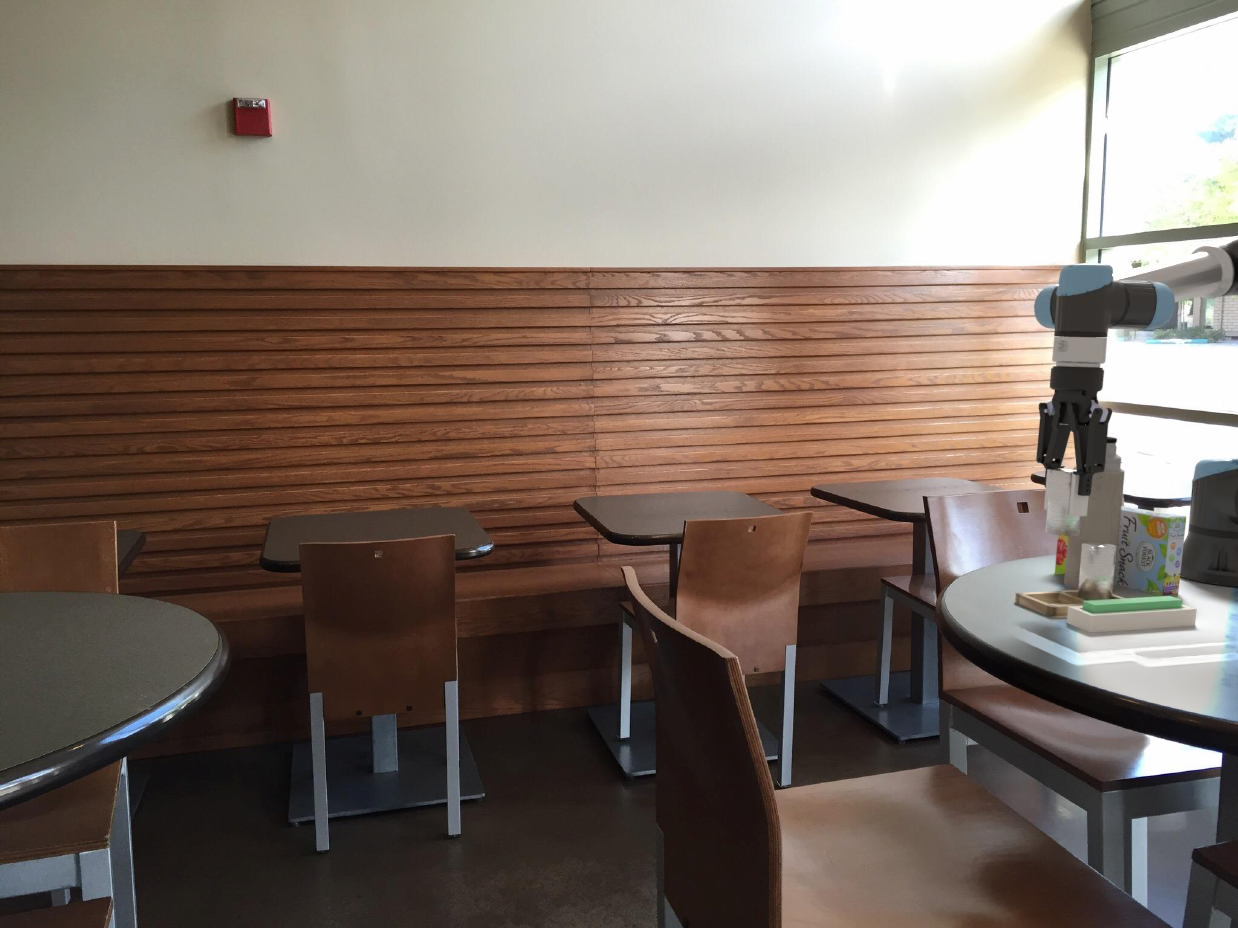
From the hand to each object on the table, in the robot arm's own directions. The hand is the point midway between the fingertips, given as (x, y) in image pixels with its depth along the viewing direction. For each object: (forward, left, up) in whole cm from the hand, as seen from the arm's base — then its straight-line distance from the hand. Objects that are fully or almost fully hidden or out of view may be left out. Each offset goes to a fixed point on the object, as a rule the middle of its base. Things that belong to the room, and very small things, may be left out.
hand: (1064, 512), depth 154 cm
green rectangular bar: (-5, +10, -16) cm, 19 cm away
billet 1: (0, 0, -3) cm, 3 cm away
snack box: (-24, -14, -17) cm, 33 cm away
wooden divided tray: (-3, 0, -17) cm, 17 cm away
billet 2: (-7, 0, -16) cm, 17 cm away
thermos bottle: (-16, -11, -17) cm, 26 cm away
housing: (-5, +10, -17) cm, 20 cm away
